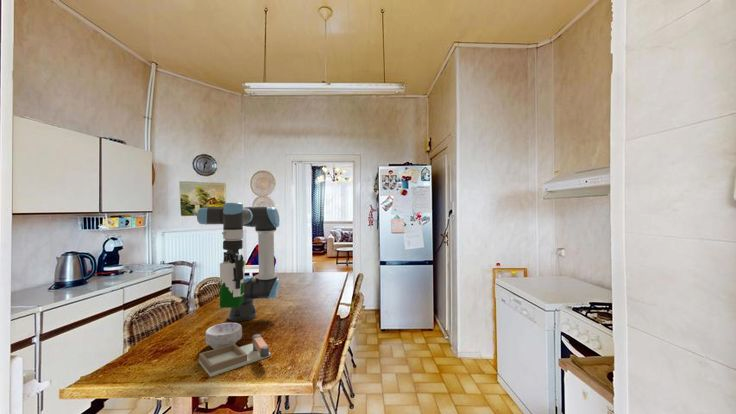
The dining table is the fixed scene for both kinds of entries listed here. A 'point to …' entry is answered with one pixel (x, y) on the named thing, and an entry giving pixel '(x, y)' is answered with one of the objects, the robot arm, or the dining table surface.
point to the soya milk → (230, 286)
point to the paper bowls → (223, 334)
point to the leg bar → (260, 345)
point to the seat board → (228, 358)
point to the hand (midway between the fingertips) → (232, 294)
